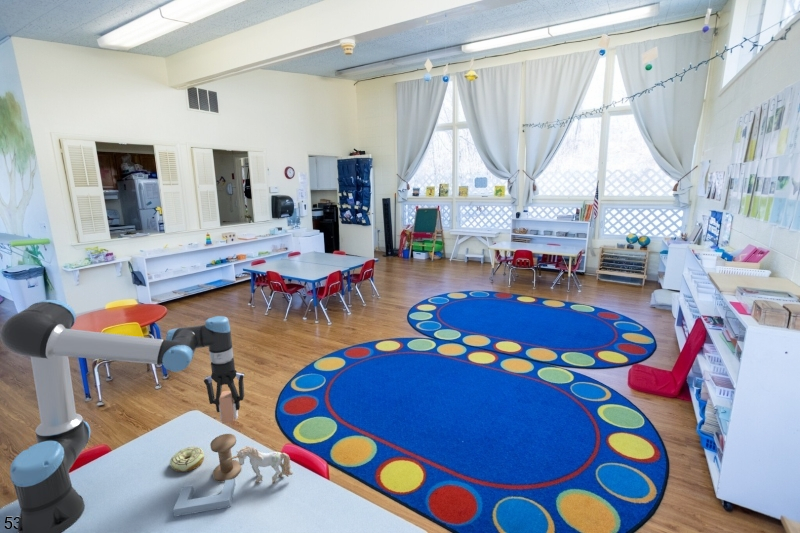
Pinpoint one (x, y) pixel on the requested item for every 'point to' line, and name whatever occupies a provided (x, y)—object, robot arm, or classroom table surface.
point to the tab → (226, 407)
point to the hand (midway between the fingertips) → (229, 418)
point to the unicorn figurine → (265, 461)
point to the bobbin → (225, 458)
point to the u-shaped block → (204, 500)
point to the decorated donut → (187, 459)
